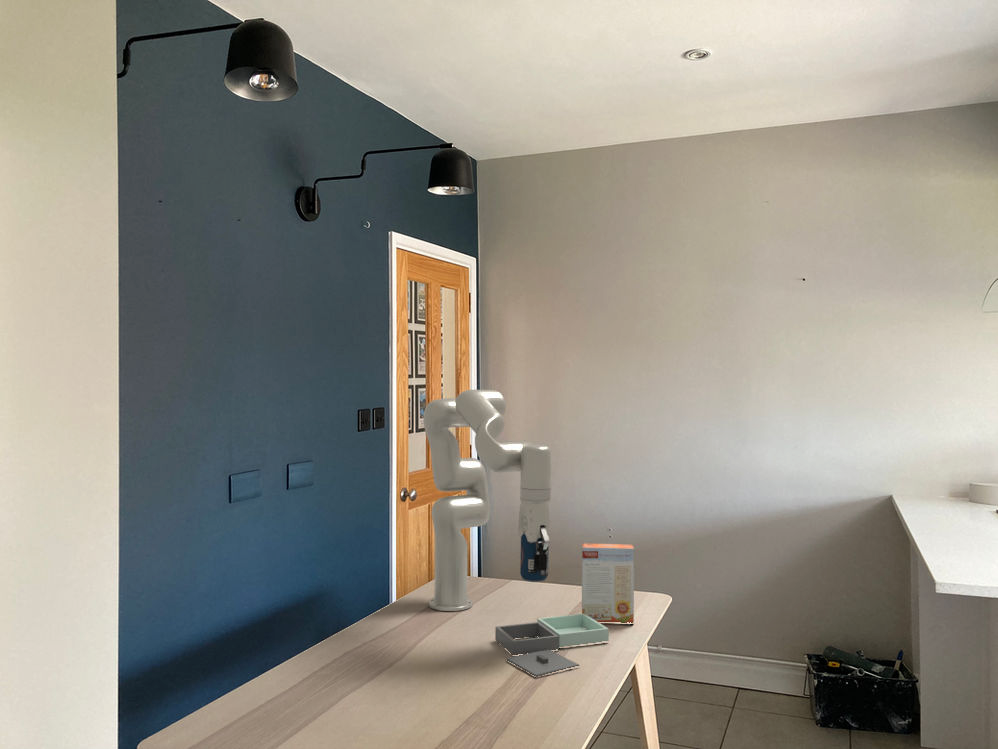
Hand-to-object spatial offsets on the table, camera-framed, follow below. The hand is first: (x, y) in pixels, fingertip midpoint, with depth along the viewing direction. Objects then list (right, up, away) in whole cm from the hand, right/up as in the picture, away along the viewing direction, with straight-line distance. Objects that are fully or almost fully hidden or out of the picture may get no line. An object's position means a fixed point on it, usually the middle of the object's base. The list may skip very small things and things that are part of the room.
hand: (534, 565), depth 196 cm
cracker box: (+21, -20, +19) cm, 35 cm away
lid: (+1, -20, -14) cm, 24 cm away
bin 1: (-2, -20, -1) cm, 20 cm away
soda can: (0, -4, 0) cm, 4 cm away
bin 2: (+10, -20, +5) cm, 23 cm away
